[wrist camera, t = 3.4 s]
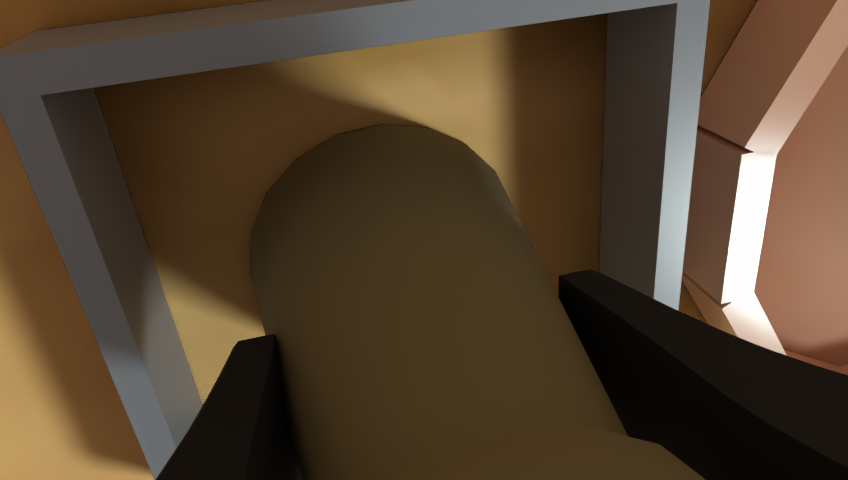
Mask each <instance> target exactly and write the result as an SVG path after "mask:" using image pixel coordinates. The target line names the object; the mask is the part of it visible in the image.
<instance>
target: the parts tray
mask: <svg viewBox="0 0 848 480" xmlns="http://www.w3.org/2000/svg"><path fill="white" fill-rule="evenodd" d="M709 8H710V0H266V1H258V2H251V3H243V4H235V5H228V6H220V7H213V8H205V9H197V10H190V11H182V12H175V13H167V14H160V15H152V16H144V17H137V18H129V19H122V20H114V21H106V22H99V23H91V24H84V25H76V26H68V27H61V28H53V29H46V30H38V31H34V32H32V33H30V34H28V35H26V36H24V37H22V38H20V39H18V40H16V41H14V42H12V43H10V44H8V45H6V46H4V47H2V48H0V112H1V115H2V117H3V119H4V122H5V124H6V127H7V129H8V131H9V134H10V136H11V138H12V141H13V143H14V146H15V148H16V150H17V153H18V155H19V158H20V160H21V162H22V165H23V167H24V169H25V172H26V174H27V177H28V179H29V181H30V184H31V186H32V189H33V191H34V193H35V196H36V198H37V200H38V203H39V205H40V208H41V210H42V212H43V215H44V217H45V220H46V222H47V224H48V227H49V229H50V231H51V234H52V236H53V239H54V241H55V243H56V246H57V248H58V251H59V253H60V255H61V258H62V260H63V262H64V265H65V267H66V270H67V272H68V274H69V277H70V279H71V282H72V284H73V286H74V289H75V291H76V293H77V296H78V298H79V301H80V303H81V305H82V308H83V310H84V313H85V315H86V317H87V320H88V322H89V324H90V327H91V329H92V332H93V334H94V336H95V339H96V341H97V344H98V346H99V348H100V351H101V353H102V355H103V358H104V360H105V363H106V365H107V367H108V370H109V372H110V375H111V377H112V379H113V382H114V384H115V387H116V389H117V391H118V394H119V396H120V398H121V401H122V403H123V406H124V408H125V410H126V413H127V415H128V418H129V420H130V422H131V425H132V427H133V429H134V432H135V434H136V437H137V439H138V441H139V444H140V446H141V449H142V451H143V453H144V456H145V458H146V460H147V463H148V465H149V468H150V470H151V472H152V475H153V477H154V480H155V479H156V478H157V476H158V475H159V474H160V472H161V471H162V469H163V468H164V466H165V465H166V463H167V462H168V460H169V459H170V457H171V456H172V454H173V453H174V451H175V450H176V448H177V447H178V445H179V444H180V442H181V441H182V439H183V438H184V436H185V434H186V433H187V431H188V430H189V428H190V426H191V425H192V423H193V421H194V419H195V418H196V416H197V414H198V413H199V411H200V409H201V408H202V406H203V405H202V402H201V400H200V397H199V394H198V391H197V388H196V385H195V382H194V379H193V376H192V373H191V370H190V368H189V365H188V362H187V359H186V356H185V353H184V350H183V347H182V344H181V341H180V338H179V336H178V333H177V330H176V327H175V324H174V321H173V318H172V315H171V312H170V309H169V306H168V303H167V301H166V298H165V295H164V292H163V289H162V286H161V283H160V280H159V277H158V274H157V271H156V269H155V266H154V263H153V260H152V257H151V254H150V251H149V248H148V245H147V242H146V239H145V237H144V234H143V231H142V228H141V225H140V222H139V219H138V216H137V213H136V210H135V207H134V205H133V202H132V199H131V196H130V193H129V190H128V187H127V184H126V181H125V178H124V175H123V172H122V170H121V167H120V164H119V161H118V158H117V155H116V152H115V149H114V146H113V143H112V140H111V138H110V135H109V132H108V129H107V126H106V123H105V120H104V117H103V114H102V111H101V108H100V106H99V103H98V100H97V97H96V94H95V91H94V87H101V86H108V85H115V84H122V83H128V82H135V81H142V80H149V79H156V78H163V77H170V76H177V75H184V74H190V73H197V72H204V71H211V70H218V69H225V68H232V67H239V66H246V65H252V64H259V63H266V62H273V61H280V60H287V59H294V58H301V57H308V56H315V55H321V54H328V53H335V52H342V51H349V50H356V49H363V48H370V47H377V46H383V45H390V44H397V43H404V42H411V41H418V40H425V39H432V38H439V37H446V36H452V35H459V34H466V33H473V32H480V31H487V30H494V29H501V28H508V27H514V26H521V25H528V24H535V23H542V22H549V21H556V20H563V19H570V18H577V17H583V16H590V15H597V14H604V13H608V14H607V45H606V76H605V107H604V138H603V168H602V199H601V230H600V261H599V273H601V274H604V275H606V276H608V277H610V278H612V279H614V280H616V281H618V282H620V283H623V284H625V285H627V286H629V287H631V288H633V289H635V290H637V291H639V292H641V293H643V294H645V295H647V296H649V297H651V298H653V299H655V300H657V301H659V302H661V303H663V304H665V305H667V306H669V307H671V308H674V309H676V310H678V309H679V299H680V289H681V280H682V270H683V260H684V251H685V241H686V231H687V221H688V212H689V202H690V192H691V183H692V173H693V163H694V153H695V144H696V134H697V124H698V115H699V105H700V95H701V85H702V76H703V66H704V56H705V47H706V37H707V27H708V18H709Z"/></svg>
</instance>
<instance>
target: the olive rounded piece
mask: <svg viewBox="0 0 848 480" xmlns="http://www.w3.org/2000/svg"><path fill="white" fill-rule="evenodd" d="M250 275H251V278H252V282H253V286H254V290H255V294H256V298H257V302H258V306H259V310H260V314H261V318H262V322H263V326H264V330H265V334H266V335H271V334H275V336H276V340H277V347H278V355H279V363H280V371H281V379H282V387H283V395H284V403H285V413H286V418H287V422H288V425H289V429H290V433H291V437H292V441H293V445H294V449H295V453H296V457H297V461H298V465H299V469H300V473H301V477H302V480H706V479H704V478H703V477H702V476H700V475H699V474H698V473H697V472H695V471H694V470H693V469H691V468H690V467H689V466H687V465H686V464H685V463H683V462H682V461H681V460H680V459H678V458H677V457H676V456H674V455H673V454H672V453H670V452H669V451H668V450H666V449H665V448H664V447H662V446H661V445H660V444H656V443H652V442H648V441H644V440H640V439H636V438H632V437H628V435H627V433H626V431H625V429H624V427H623V425H622V423H621V421H620V419H619V417H618V415H617V413H616V411H615V409H614V407H613V405H612V403H611V401H610V399H609V397H608V395H607V393H606V391H605V389H604V387H603V385H602V383H601V381H600V379H599V377H598V375H597V373H596V371H595V369H594V367H593V365H592V363H591V361H590V359H589V357H588V355H587V353H586V351H585V349H584V347H583V345H582V343H581V341H580V339H579V337H578V335H577V333H576V331H575V329H574V327H573V325H572V323H571V321H570V319H569V317H568V315H567V313H566V311H565V309H564V307H563V305H562V303H561V301H560V299H559V297H558V295H557V293H556V291H555V289H554V287H553V285H552V283H551V281H550V279H549V277H548V275H547V273H546V271H545V269H544V267H543V265H542V263H541V261H540V259H539V257H538V255H537V253H536V251H535V249H534V247H533V245H532V243H531V241H530V239H529V237H528V235H527V233H526V231H525V229H524V227H523V225H522V223H521V221H520V219H519V217H518V215H517V213H516V211H515V209H514V207H513V205H512V204H511V202H510V200H509V198H508V196H507V194H506V192H505V190H504V188H503V186H502V184H501V182H500V180H499V178H498V176H497V174H496V172H495V170H494V169H492V168H491V167H490V166H489V165H488V164H487V163H486V162H485V161H484V160H483V159H482V158H481V157H479V156H478V155H477V154H476V153H475V152H474V151H473V150H472V149H471V148H470V147H469V146H468V145H466V144H464V143H462V142H460V141H457V140H455V139H453V138H450V137H448V136H446V135H443V134H441V133H438V132H436V131H434V130H431V129H429V128H424V127H411V126H398V125H384V124H382V125H377V126H373V127H369V128H365V129H361V130H356V131H352V132H348V133H344V134H339V135H336V136H334V137H333V138H331V139H329V140H328V141H326V142H324V143H323V144H321V145H319V146H318V147H316V148H314V149H313V150H311V151H309V152H308V153H306V154H304V155H303V156H301V157H299V158H298V159H296V160H295V161H294V163H293V164H292V165H291V166H290V167H289V168H288V169H287V171H286V172H285V173H284V174H283V175H282V176H281V177H280V179H279V180H278V181H277V182H276V183H275V184H274V185H273V187H272V188H271V189H270V190H269V191H268V192H267V194H266V196H265V199H264V201H263V204H262V206H261V209H260V211H259V214H258V216H257V219H256V221H255V223H254V226H253V228H252V231H251V248H250Z"/></svg>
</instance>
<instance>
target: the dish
mask: <svg viewBox="0 0 848 480" xmlns="http://www.w3.org/2000/svg"><path fill="white" fill-rule="evenodd" d="M682 282H683V283H684V285H685V287H686V288H687V290H688V292H689V293H690V295H691V297H692V298H693V300H694V302H695V303H696V305H697V307H698V308H699V310H700V312H701V313H702V315H703V317H704V318H705V320H706V322H707V323H708V325H711V326H713V327H715V328H717V329H720V330H722V331H725V332H727V333H729V334H732V335H734V336H737V337H739V338H741V339H744V340H746V341H749V342H751V343H754V344H756V345H759V346H761V347H764V348H767V349H769V350H772V351H775V352H778V353H781V354H784V355H787V356H790V357H792V358H795V359H798V360H801V361H804V362H807V363H810V364H813V365H816V366H819V367H822V368H826V369H829V370H832V371H836V372H839V373H842V374H846V375H848V0H758V1H757V2H756V4H755V6H754V8H753V9H752V11H751V13H750V14H749V16H748V18H747V20H746V21H745V23H744V25H743V26H742V28H741V30H740V31H739V33H738V35H737V37H736V38H735V40H734V42H733V43H732V45H731V47H730V48H729V50H728V52H727V54H726V55H725V57H724V59H723V60H722V62H721V64H720V66H719V67H718V69H717V71H716V72H715V74H714V76H713V77H712V79H711V81H710V83H709V84H708V86H707V88H706V89H705V91H704V93H703V94H702V96H701V98H700V105H699V115H698V124H697V134H696V144H695V153H694V163H693V173H692V183H691V192H690V202H689V212H688V221H687V231H686V241H685V251H684V260H683V270H682Z"/></svg>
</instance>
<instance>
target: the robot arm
mask: <svg viewBox="0 0 848 480" xmlns="http://www.w3.org/2000/svg"><path fill="white" fill-rule="evenodd" d="M559 299H560V301H561V303H562V305H563V307H564V309H565V311H566V313H567V315H568V317H569V319H570V321H571V323H572V325H573V327H574V329H575V331H576V333H577V335H578V337H579V339H580V341H581V343H582V345H583V347H584V349H585V351H586V353H587V355H588V357H589V359H590V361H591V363H592V365H593V367H594V369H595V371H596V373H597V375H598V377H599V379H600V381H601V383H602V385H603V387H604V389H605V391H606V393H607V395H608V397H609V399H610V401H611V403H612V405H613V407H614V409H615V411H616V413H617V415H618V417H619V419H620V421H621V423H622V425H623V427H624V429H625V431H626V433H627V435H628V437H632V438H636V439H640V440H644V441H648V442H652V443H656V444H660V445H661V446H662V447H664V448H665V449H666V450H668V451H669V452H670V453H672V454H673V455H674V456H676V457H677V458H678V459H680V460H681V461H682V462H683V463H685V464H686V465H687V466H689V467H690V468H691V469H693V470H694V471H695V472H697V473H698V474H699V475H700V476H702V477H703V478H704V479H706V480H848V375H846V374H842V373H839V372H836V371H832V370H829V369H826V368H822V367H819V366H816V365H813V364H810V363H807V362H804V361H801V360H798V359H795V358H792V357H790V356H787V355H784V354H781V353H778V352H775V351H772V350H769V349H767V348H764V347H761V346H759V345H756V344H754V343H751V342H749V341H746V340H744V339H741V338H739V337H737V336H734V335H732V334H729V333H727V332H725V331H722V330H720V329H717V328H715V327H713V326H711V325H708V324H706V323H704V322H702V321H699V320H697V319H695V318H693V317H691V316H688V315H686V314H684V313H682V312H680V311H678V310H676V309H674V308H671V307H669V306H667V305H665V304H663V303H661V302H659V301H657V300H655V299H653V298H651V297H649V296H647V295H645V294H643V293H641V292H639V291H637V290H635V289H633V288H631V287H629V286H627V285H625V284H623V283H620V282H618V281H616V280H614V279H612V278H610V277H608V276H606V275H604V274H601V273H599V272H597V271H594V270H592V269H589V270H584V271H579V272H574V273H569V274H565V275H560V276H559ZM155 480H302V477H301V473H300V469H299V465H298V461H297V457H296V453H295V449H294V445H293V441H292V437H291V433H290V429H289V425H288V422H287V418H286V413H285V403H284V395H283V387H282V379H281V371H280V363H279V355H278V347H277V340H276V336H275V334H271V335H266V336H261V337H257V338H252V339H247V340H242V341H238V342H237V344H236V345H235V346H234V348H233V349H232V351H231V353H230V355H229V357H228V359H227V361H226V363H225V365H224V367H223V369H222V371H221V373H220V375H219V377H218V379H217V381H216V383H215V384H214V386H213V388H212V390H211V392H210V394H209V395H208V397H207V399H206V401H205V402H204V404H203V406H202V408H201V409H200V411H199V413H198V414H197V416H196V418H195V419H194V421H193V423H192V425H191V426H190V428H189V430H188V431H187V433H186V434H185V436H184V438H183V439H182V441H181V442H180V444H179V445H178V447H177V448H176V450H175V451H174V453H173V454H172V456H171V457H170V459H169V460H168V462H167V463H166V465H165V466H164V468H163V469H162V471H161V472H160V474H159V475H158V476H157V478H156V479H155Z"/></svg>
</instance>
